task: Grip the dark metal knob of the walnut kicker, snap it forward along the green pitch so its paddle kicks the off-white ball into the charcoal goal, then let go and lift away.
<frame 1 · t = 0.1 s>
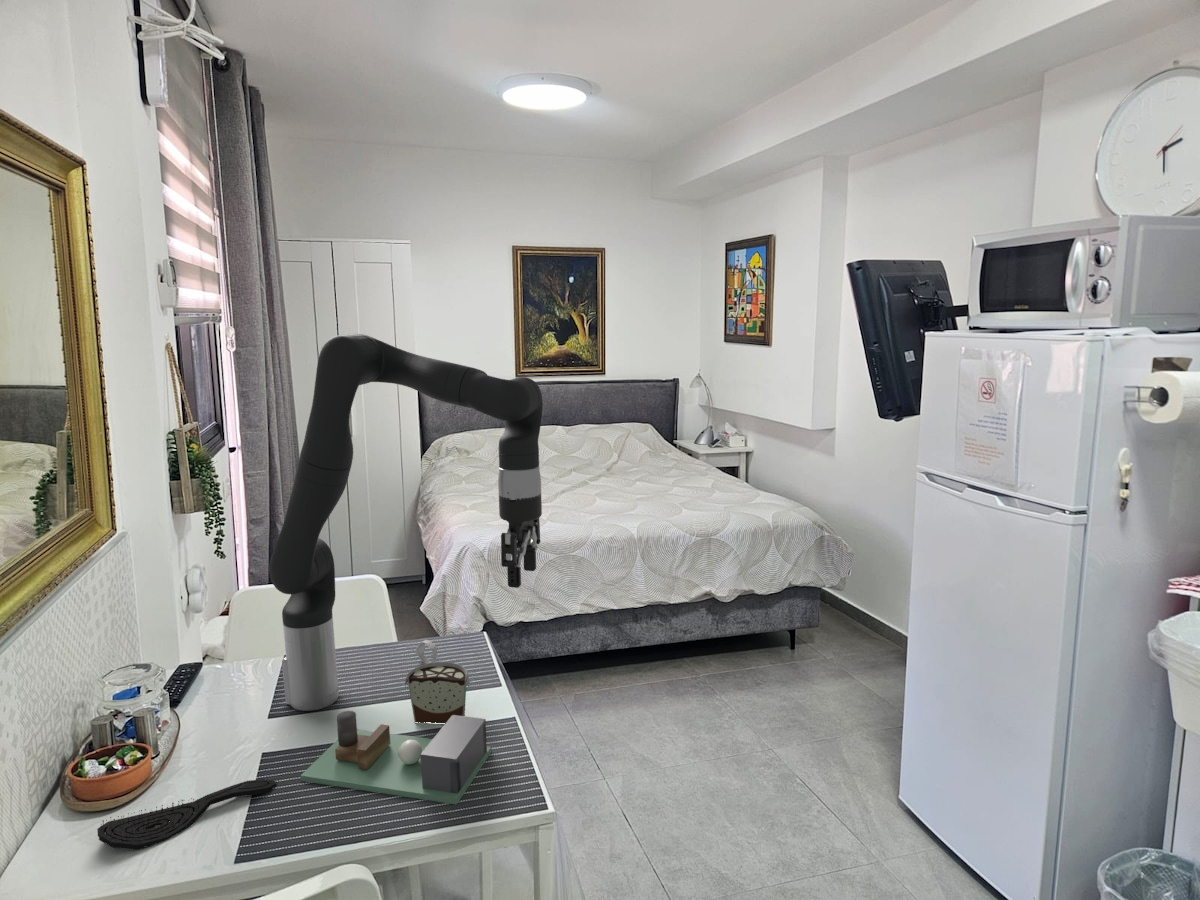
hand: (522, 578, 141), 29 cm above the table, tool pointing down, fingers open, 8 cm apart
goal: (455, 774, 132), resting on pitch
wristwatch: (427, 663, 173), on the table
food container: (443, 716, 151), on the table
hairbrush: (193, 818, 123), on the table
kicker: (358, 735, 136), point 5 cm above the table, slide at 0.0 cm
pitch: (399, 766, 135), on the table
ball: (410, 751, 134), point 3 cm above the table, touching pitch
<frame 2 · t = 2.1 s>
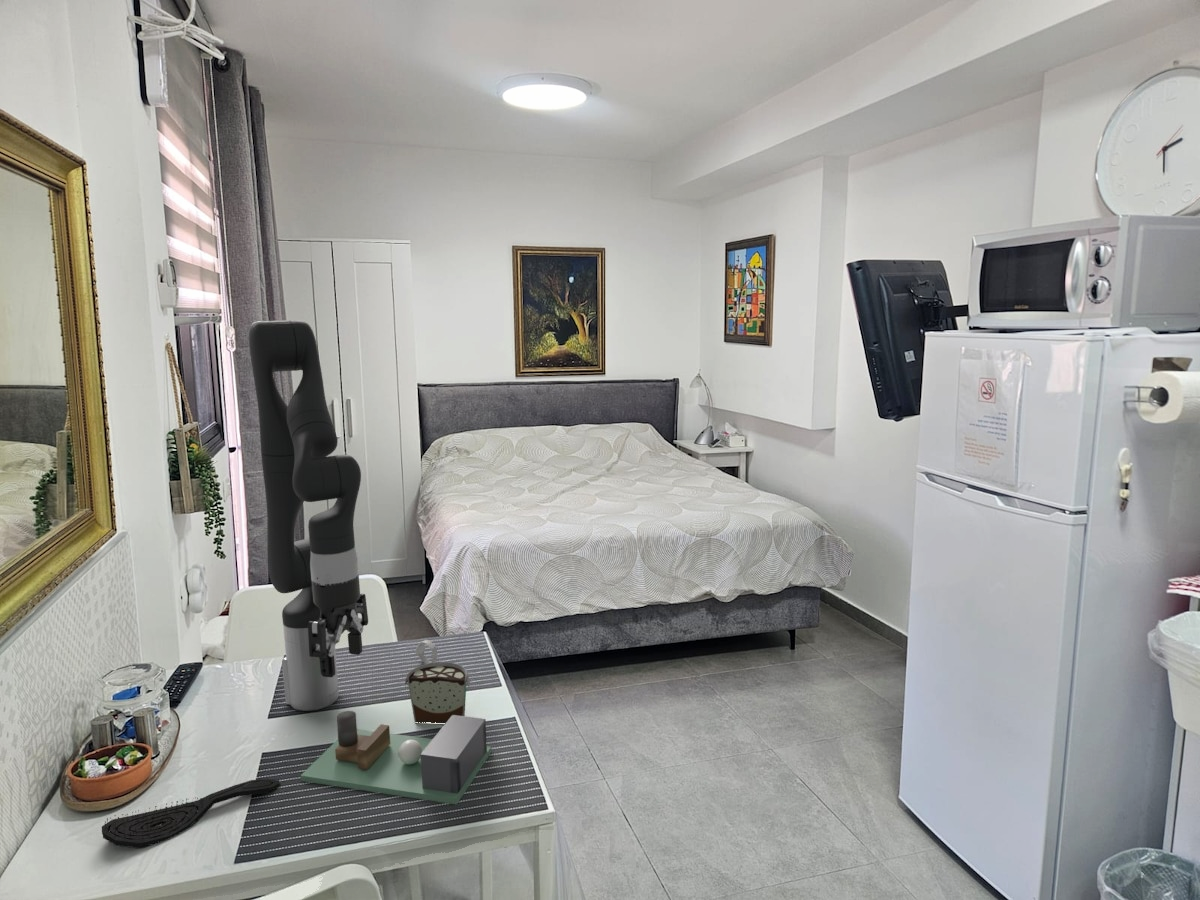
hand: (342, 664, 134), 18 cm above the table, tool pointing down, fingers open, 8 cm apart
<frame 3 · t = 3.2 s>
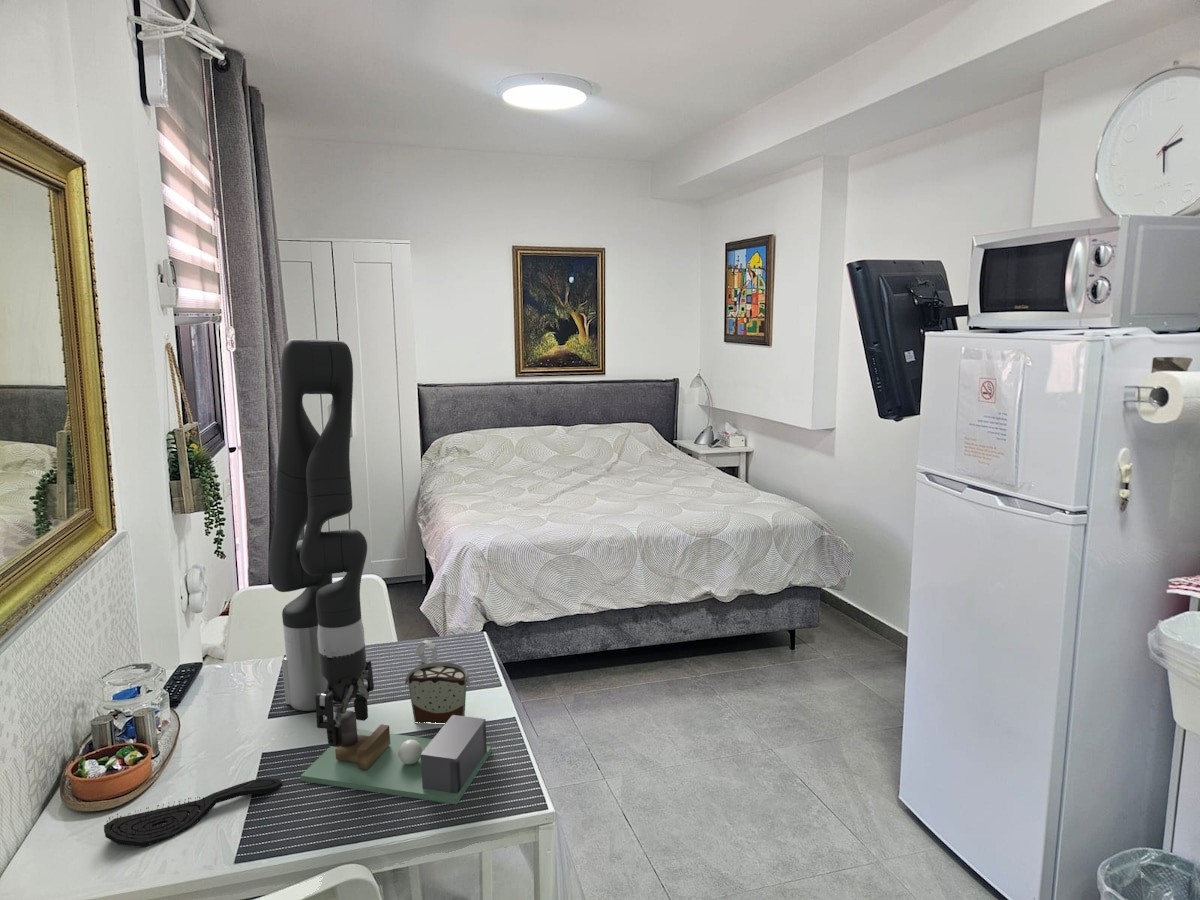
hand: (348, 732, 136), 5 cm above the table, tool pointing down, fingers open, 8 cm apart
nothing on the table moved.
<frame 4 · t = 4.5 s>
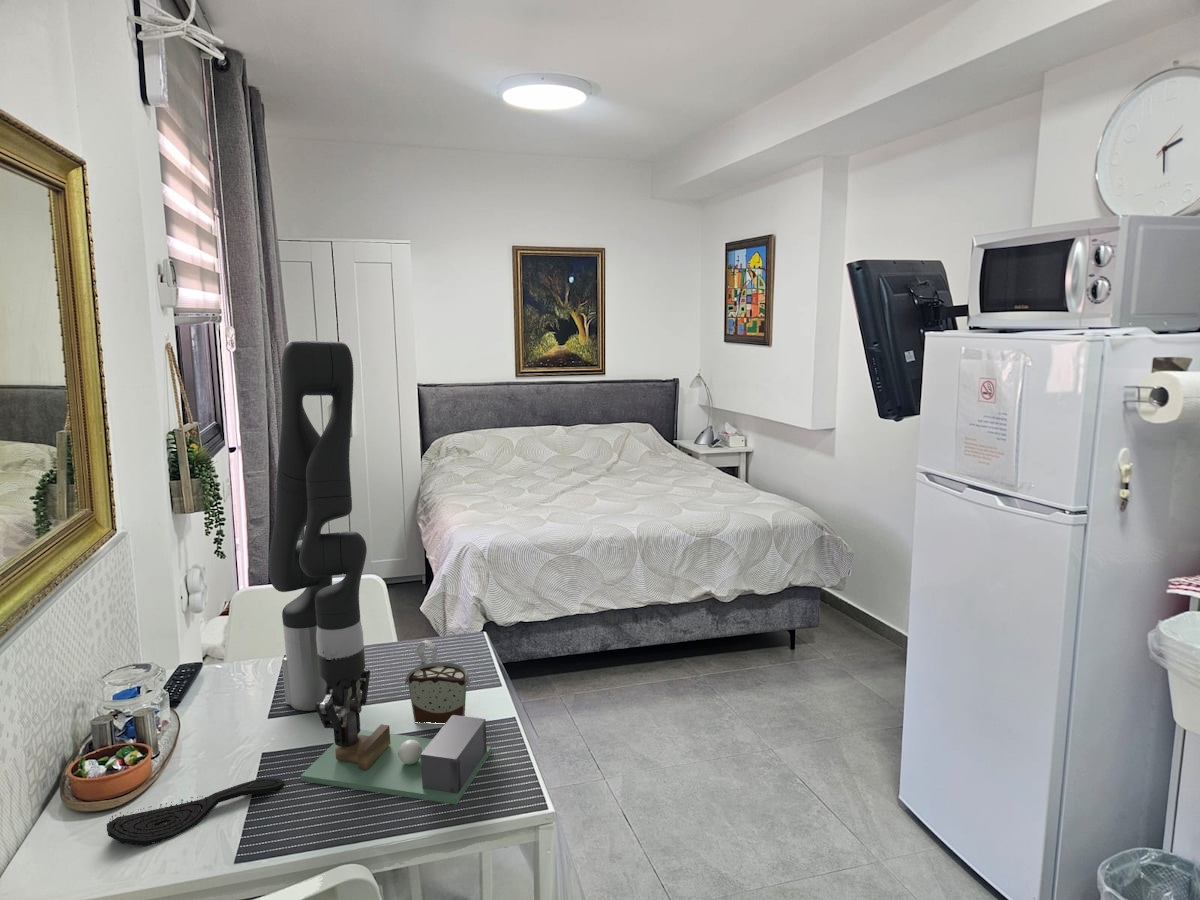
hand: (347, 738, 136), 4 cm above the table, tool pointing down, fingers closed on kicker, 3 cm apart
kicker: (358, 735, 136), point 5 cm above the table, slide at 0.0 cm, touching gripper
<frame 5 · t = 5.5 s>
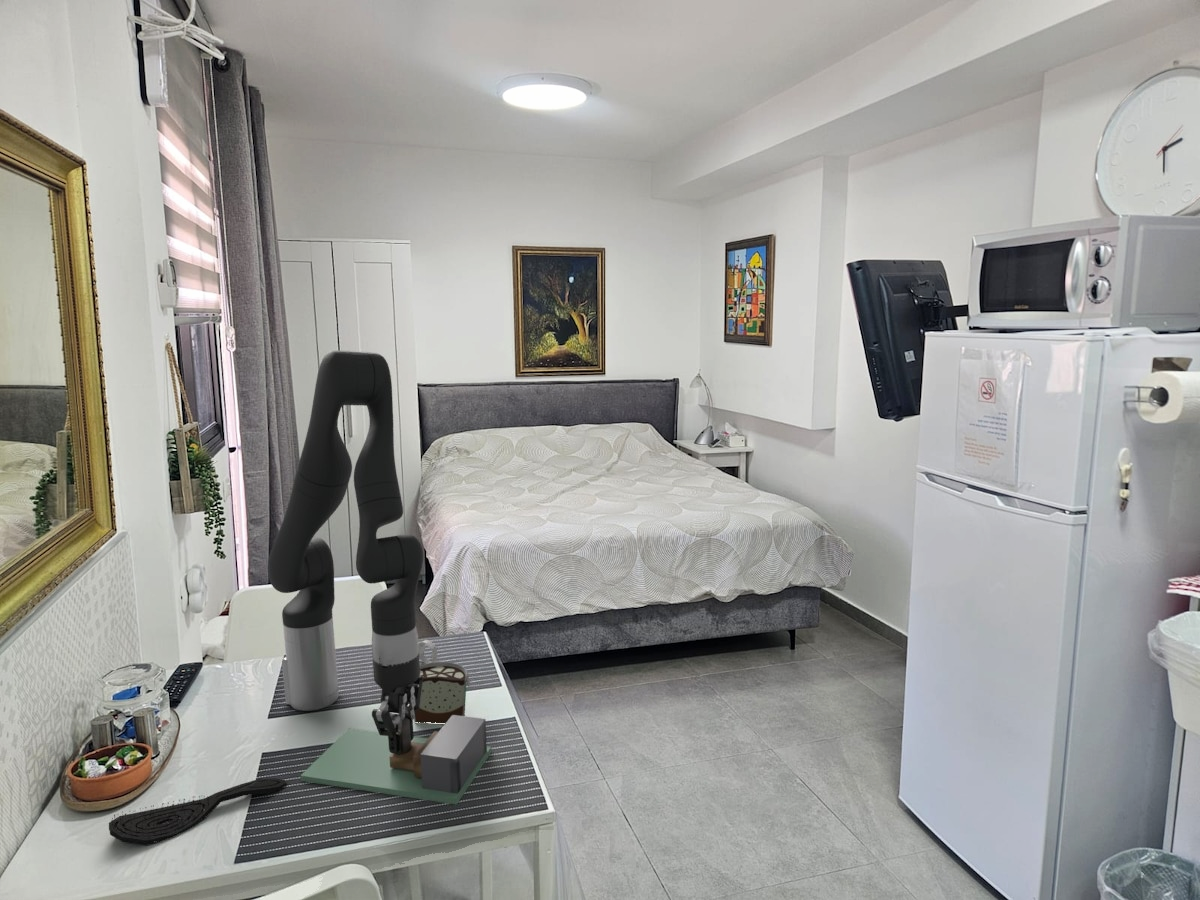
hand: (401, 745, 134), 4 cm above the table, tool pointing down, fingers closed on kicker, 3 cm apart
kicker: (412, 742, 133), point 5 cm above the table, slide at 10.2 cm, touching gripper
ball: (453, 757, 132), point 3 cm above the table, tilted 157°, touching pitch
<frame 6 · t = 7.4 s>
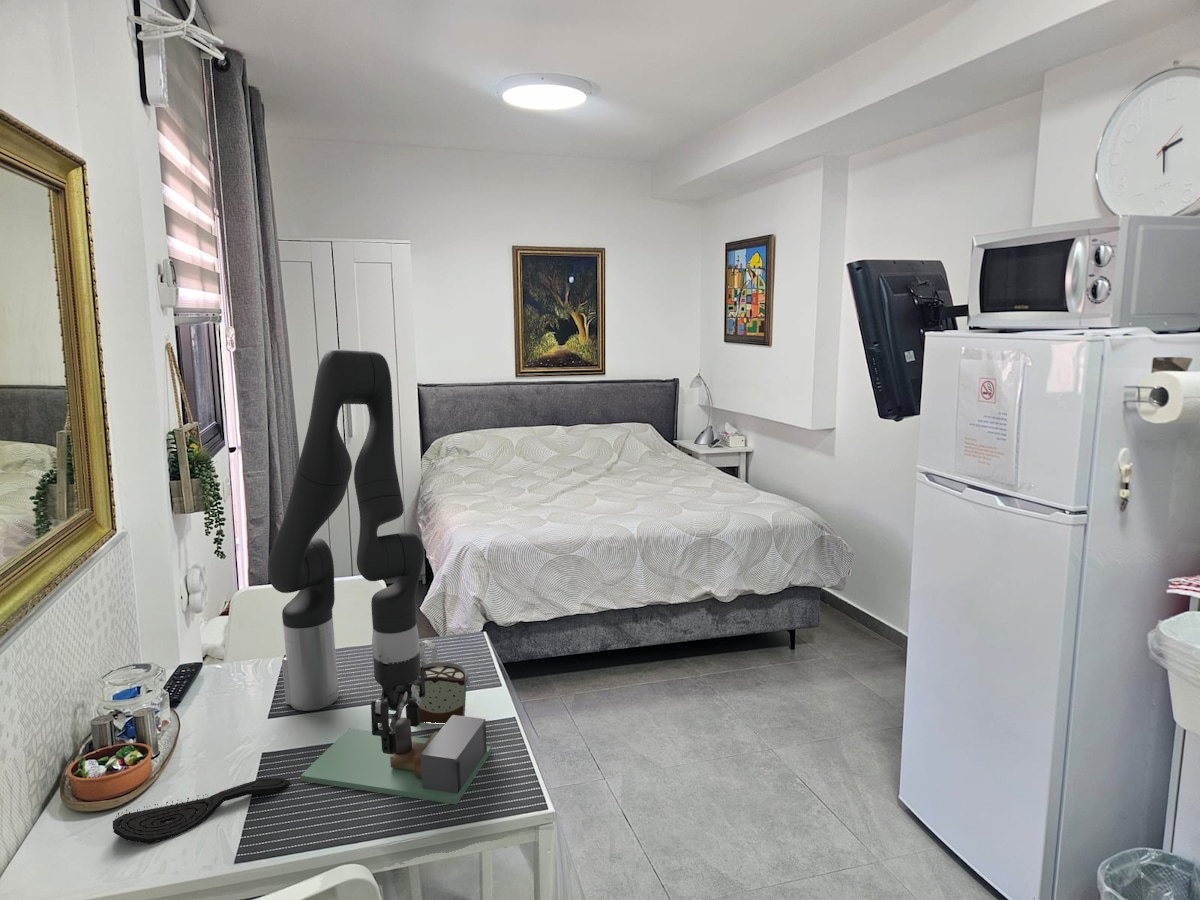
hand: (401, 738, 133), 5 cm above the table, tool pointing down, fingers open, 8 cm apart
kicker: (413, 742, 133), point 5 cm above the table, slide at 10.4 cm
ball: (447, 757, 132), point 3 cm above the table, tilted 174°, touching pitch
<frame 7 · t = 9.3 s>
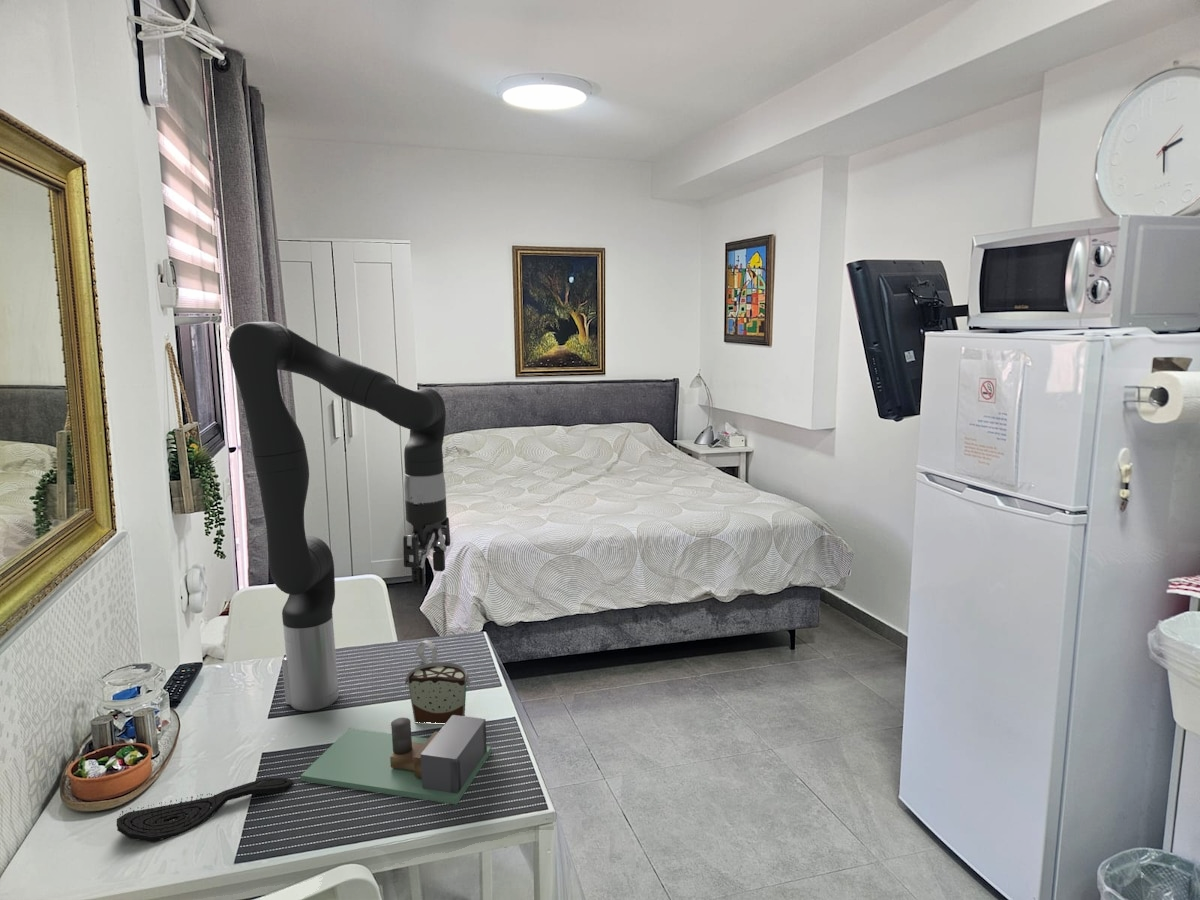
hand: (429, 578, 150), 27 cm above the table, tool pointing down, fingers open, 8 cm apart
ball: (451, 757, 132), point 3 cm above the table, tilted 163°, touching pitch
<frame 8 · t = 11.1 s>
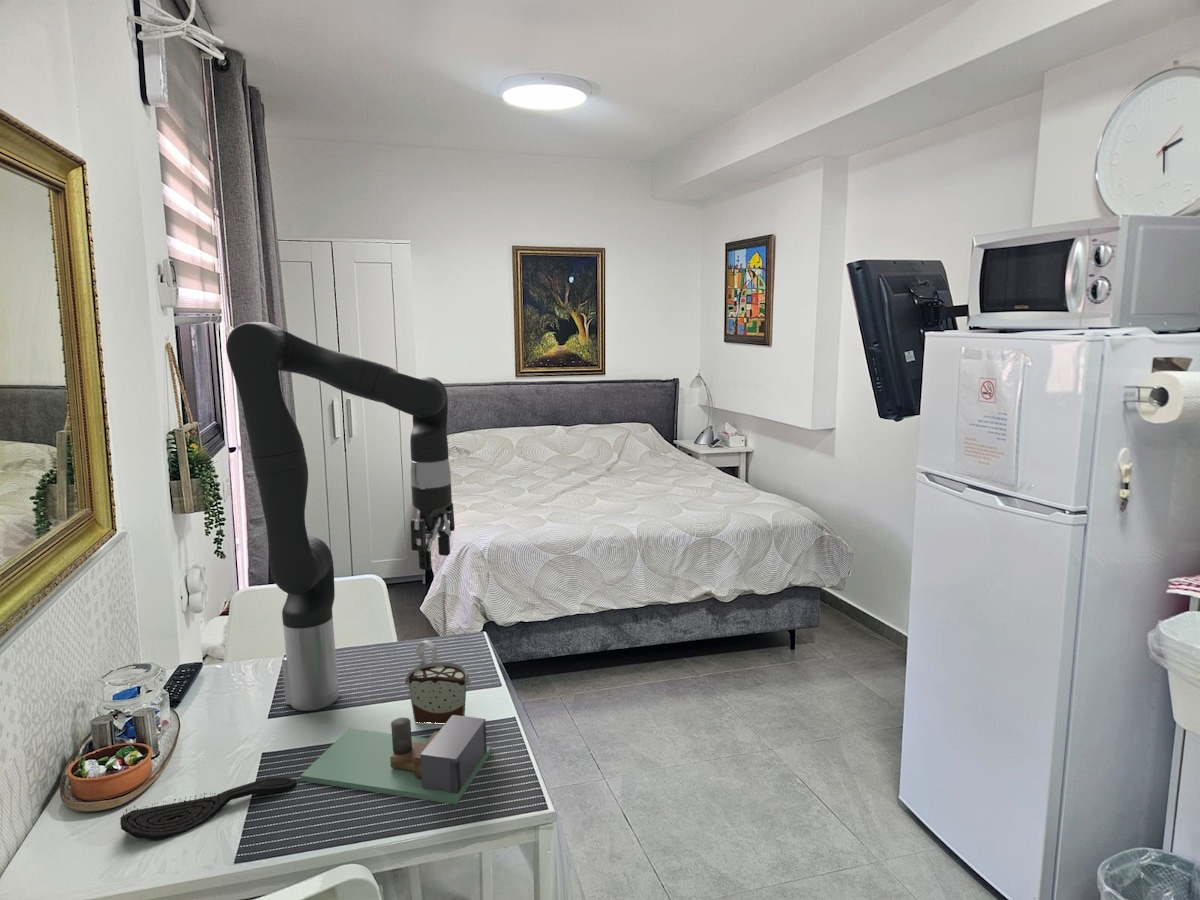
hand: (435, 561, 154), 28 cm above the table, tool pointing down, fingers open, 8 cm apart
ball: (454, 758, 132), point 3 cm above the table, tilted 148°, touching pitch
at the end: ball inside the target area (0.2 cm from its centre), point 3.0 cm above the table; kicker slide at 10.4 cm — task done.
